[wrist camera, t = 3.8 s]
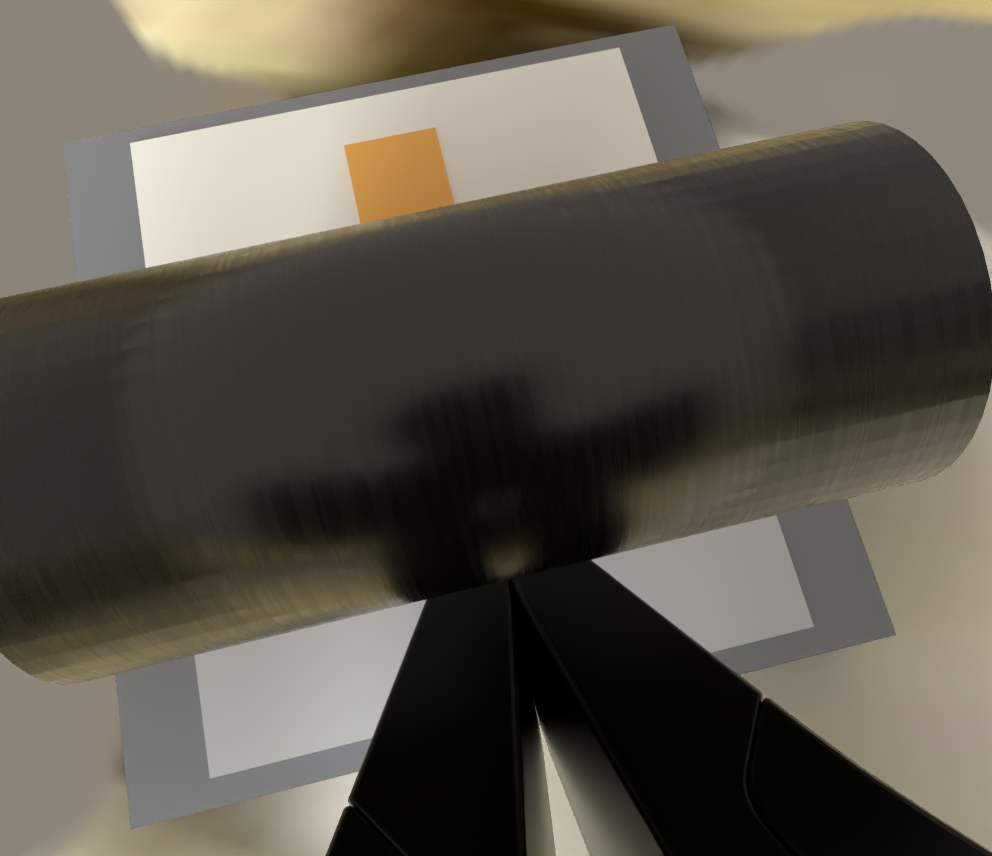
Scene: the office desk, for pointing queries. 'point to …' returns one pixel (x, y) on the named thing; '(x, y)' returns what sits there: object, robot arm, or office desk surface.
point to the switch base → (379, 195)
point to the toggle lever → (478, 394)
